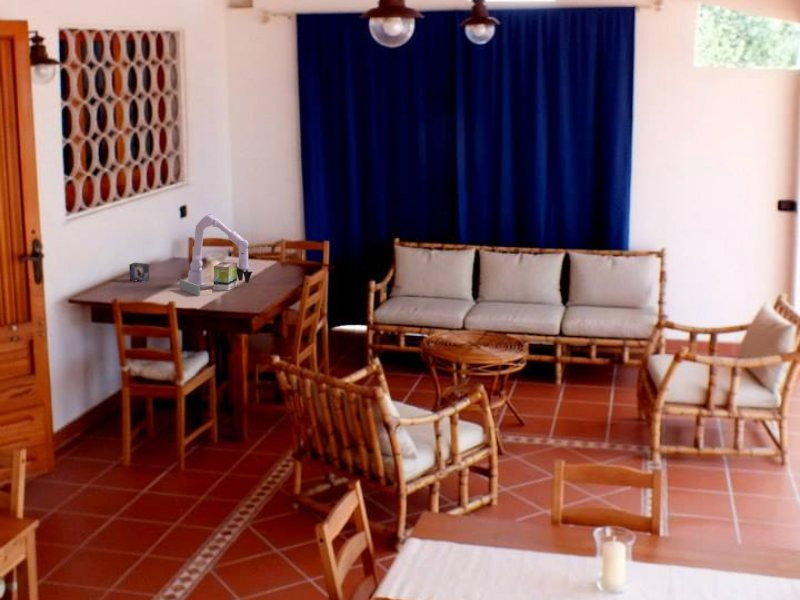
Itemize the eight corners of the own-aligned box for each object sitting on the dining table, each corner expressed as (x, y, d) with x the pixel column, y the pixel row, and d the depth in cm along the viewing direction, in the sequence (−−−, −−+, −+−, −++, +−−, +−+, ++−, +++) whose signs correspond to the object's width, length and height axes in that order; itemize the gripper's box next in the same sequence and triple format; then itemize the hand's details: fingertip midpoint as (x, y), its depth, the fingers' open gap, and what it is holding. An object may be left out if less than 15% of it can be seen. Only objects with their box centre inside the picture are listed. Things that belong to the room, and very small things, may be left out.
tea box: (229, 291, 695) (228, 266, 692) (213, 290, 697) (212, 265, 694) (237, 286, 710) (237, 262, 706) (221, 285, 712) (221, 261, 708)
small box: (129, 280, 720) (128, 264, 718) (135, 278, 726) (134, 262, 724) (143, 282, 716) (143, 265, 714) (149, 280, 722) (149, 263, 720)
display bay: (179, 289, 697) (179, 279, 696) (193, 287, 703) (193, 277, 701) (198, 296, 680) (197, 285, 679) (212, 294, 685) (211, 284, 684)
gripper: (255, 260, 705) (255, 282, 708) (243, 257, 716) (243, 278, 719) (245, 262, 700) (245, 284, 703) (233, 258, 711) (233, 280, 714)
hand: (243, 281), depth 711 cm, fingers open, 7 cm apart
